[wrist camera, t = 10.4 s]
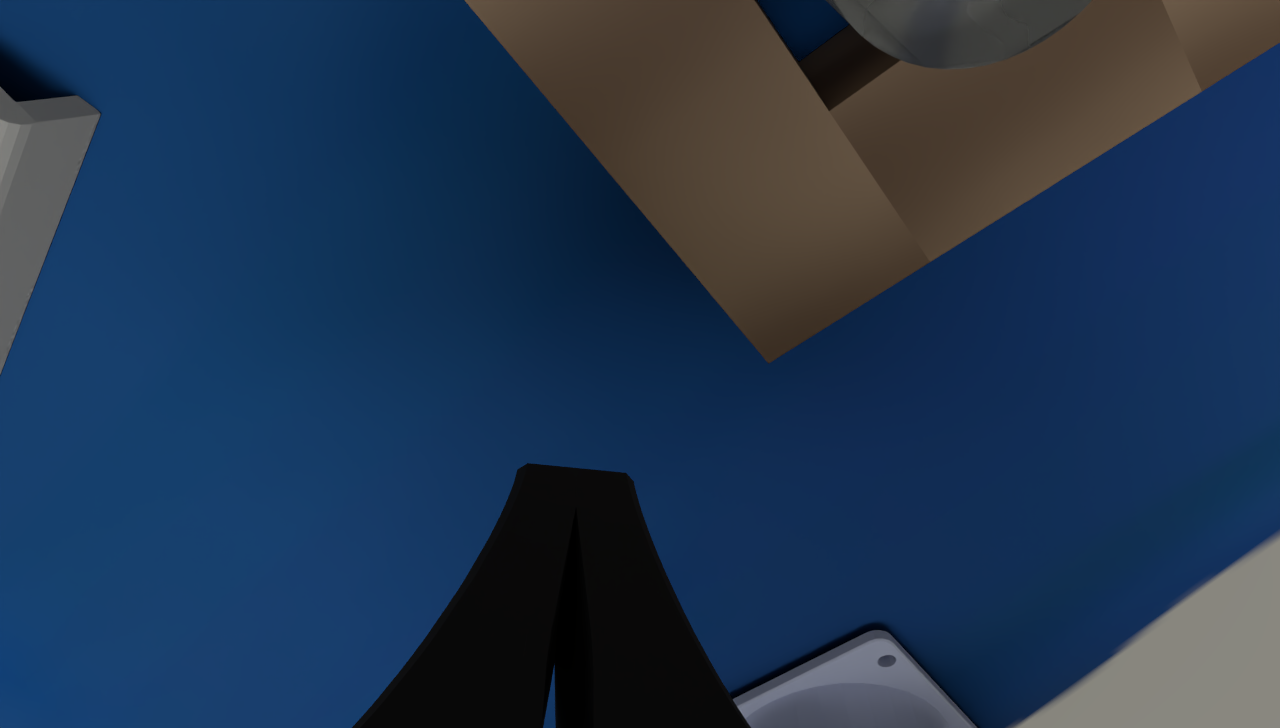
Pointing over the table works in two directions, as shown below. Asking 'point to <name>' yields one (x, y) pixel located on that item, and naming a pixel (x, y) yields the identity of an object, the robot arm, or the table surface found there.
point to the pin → (957, 28)
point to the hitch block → (848, 132)
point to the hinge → (34, 191)
